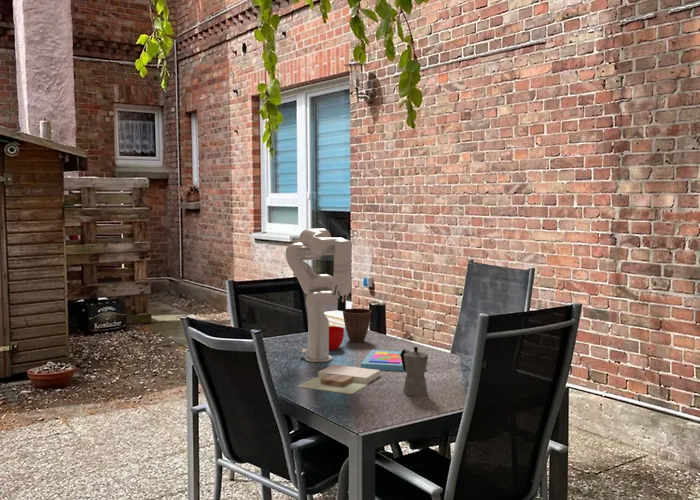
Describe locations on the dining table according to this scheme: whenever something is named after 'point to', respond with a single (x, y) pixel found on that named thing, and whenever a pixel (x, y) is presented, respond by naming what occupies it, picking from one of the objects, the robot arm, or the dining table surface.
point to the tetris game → (383, 360)
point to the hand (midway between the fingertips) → (341, 310)
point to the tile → (336, 380)
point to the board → (351, 373)
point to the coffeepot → (414, 372)
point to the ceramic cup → (335, 337)
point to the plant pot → (357, 323)
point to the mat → (347, 389)
